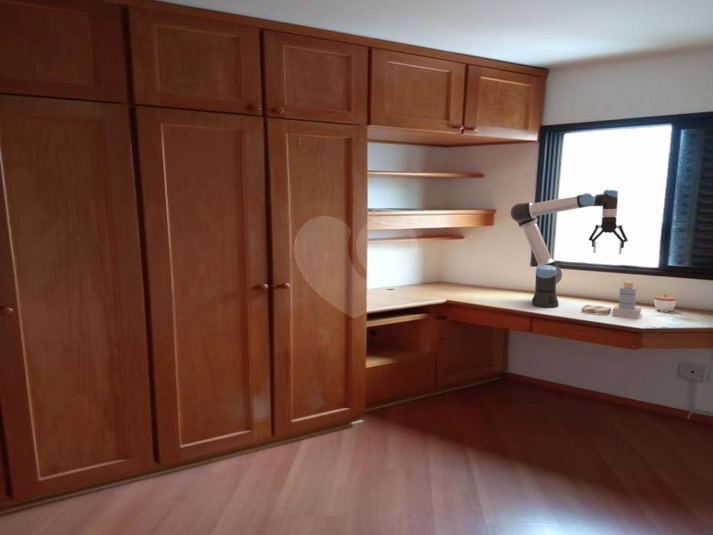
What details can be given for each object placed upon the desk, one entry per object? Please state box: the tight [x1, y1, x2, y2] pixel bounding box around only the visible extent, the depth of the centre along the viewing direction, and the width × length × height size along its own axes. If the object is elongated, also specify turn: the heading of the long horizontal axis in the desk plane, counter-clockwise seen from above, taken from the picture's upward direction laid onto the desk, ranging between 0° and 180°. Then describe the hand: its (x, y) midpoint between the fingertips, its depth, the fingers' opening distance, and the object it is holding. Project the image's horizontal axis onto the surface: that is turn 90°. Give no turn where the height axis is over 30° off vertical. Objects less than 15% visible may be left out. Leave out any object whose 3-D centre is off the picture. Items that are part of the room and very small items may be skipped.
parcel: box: [623, 281, 634, 289], centre depth 277 cm, size 4×4×3 cm
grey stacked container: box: [618, 285, 637, 309], centre depth 278 cm, size 7×7×11 cm
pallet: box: [581, 304, 612, 316], centre depth 286 cm, size 13×13×2 cm
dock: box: [611, 303, 642, 319], centre depth 279 cm, size 12×14×4 cm
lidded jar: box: [653, 293, 677, 312], centre depth 289 cm, size 11×11×9 cm
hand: (607, 253), depth 297 cm, fingers open, 13 cm apart
